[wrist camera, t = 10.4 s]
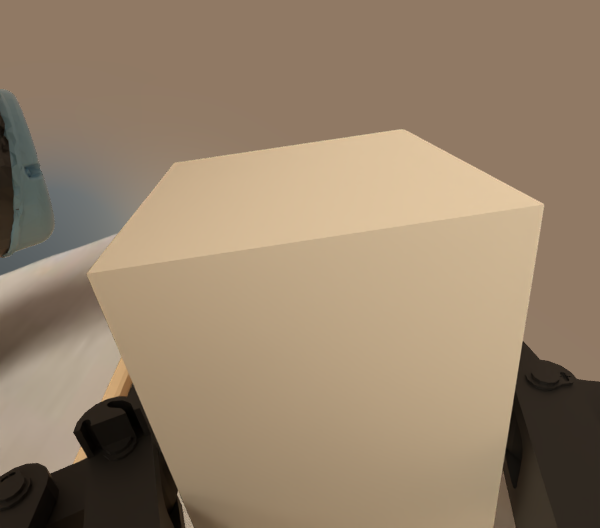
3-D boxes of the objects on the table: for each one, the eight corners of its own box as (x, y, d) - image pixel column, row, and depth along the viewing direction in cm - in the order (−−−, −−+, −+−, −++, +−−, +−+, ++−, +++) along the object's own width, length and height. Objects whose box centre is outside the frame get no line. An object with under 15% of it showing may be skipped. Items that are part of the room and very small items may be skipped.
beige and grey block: (253, 668, 11) (86, 273, 5) (256, 465, 16) (174, 162, 11) (477, 630, 11) (544, 204, 5) (406, 441, 16) (403, 129, 11)
